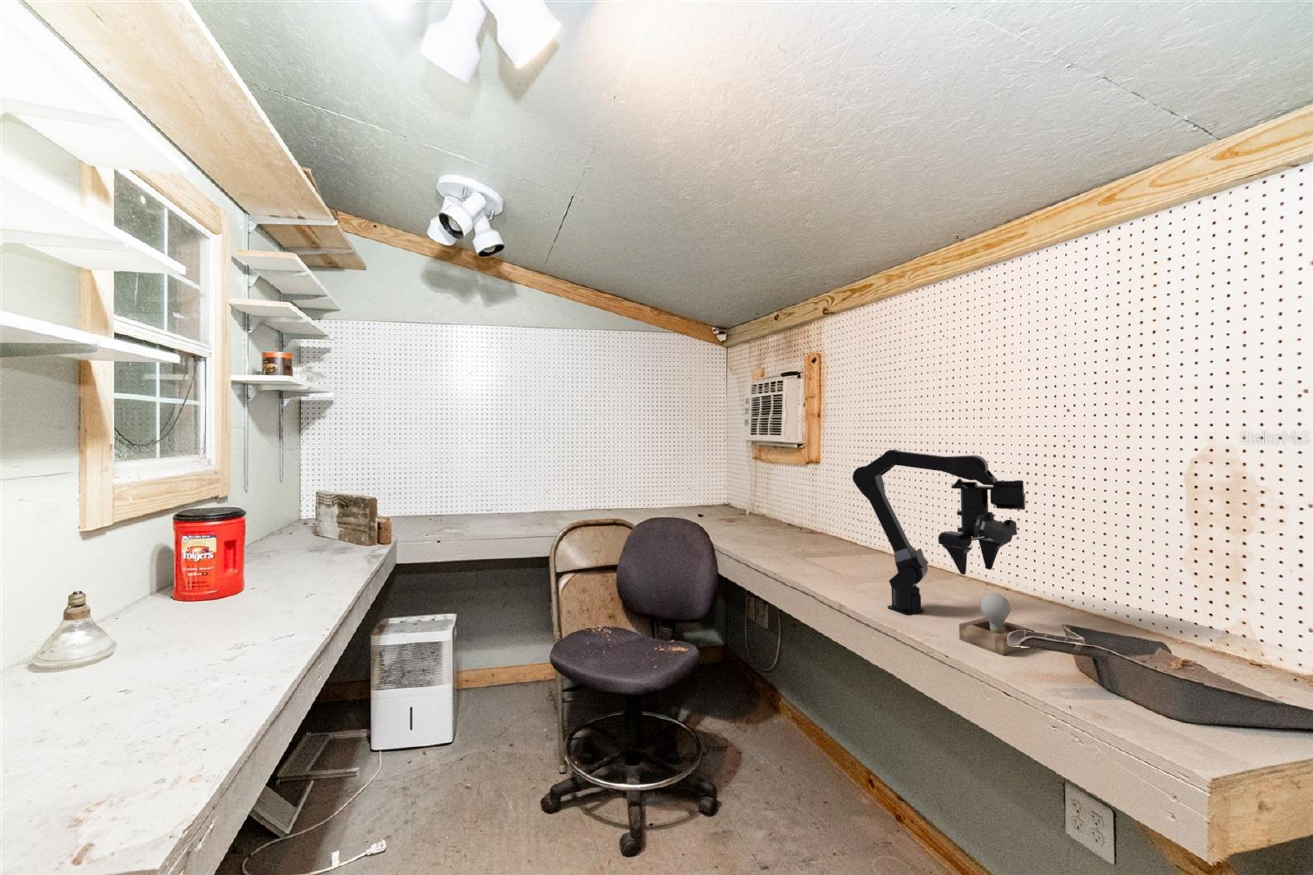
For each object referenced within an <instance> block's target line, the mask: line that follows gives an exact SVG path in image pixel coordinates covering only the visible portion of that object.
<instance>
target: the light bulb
mask: <svg viewBox="0 0 1313 875" xmlns="http://www.w3.org/2000/svg"><path fill="white" fill-rule="evenodd" d="M980 608H981V612H982V613H983V615H984V616H985V618H987V619H988V621H989V623H990V629H991V631H992V632H995V633H998V634H1002V625H1003V623H1004V621H1005V622H1006V620H1007V618H1008V617H1009V615H1010V612H1011V605H1010V603H1009V601H1008V599H1007V598H1006V597H1004V595H1003V596H1002V595H1001V594H998V593H988V594H986V595H984V596H983V597H982V598H981V601H980Z"/></svg>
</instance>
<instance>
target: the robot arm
mask: <svg viewBox="0 0 1313 875" xmlns="http://www.w3.org/2000/svg"><path fill="white" fill-rule="evenodd" d="M895 466H900V467H907V468H915V469H923V470H928V471H929V470H930V471H937V472H942V473H946V474H949V475H951V476H955V477H958V479H957V480H956V482H955V483H953V484H952V485H951V487H950V488H951V489H953V490H954V489H958V490H960V510H957V511H956V516H960V517H961V518H960V519H961V527H957V531H952V530H949V531H942V532H940V533H939V534H938V535H937V536H938V540H937V541H938V544H939V545H942V548H945V549H946V551H947V552H948V554H949V556H950V557H951V558H952V559H951V560H952V561H953V562H954V565H955V566H956V568H957V570H958V571H959V574H961V575H965V576H966V574H967V566H968V565H967V561H968V553H969V552H970V551H971V550H972V549H973V547H970V546H971V545H972V542H973V541H978V543H979V544H978V545H979V547H980V551H981V555H982V558H983V563H984V567H985V569H986V570H989V571H991V570H992V569H993V566H994V563H995V562H996V559H997V555H998V552H999V550H1000V548H1002V547H1003V546H1005V545H1007V544H1008V543H1011V542H1012V539H1013V536H1017V535H1018V531H1017V530H1018V528H1017V522H1016V521H1015V520H1013V519H1011V518H1010V519H1005V520H1004V521H1002V520H996V519H995V514H994V513H993V512H992V511H989V499H990V504H991V505H993V506H995V508H996V509H997V510H998V509H1000V510H1017V511H1018V510H1020V511H1025V510H1026V493H1025V488H1024V480H1023V479H1020V480H1019V479H1017V480H998V479H997V477H996V476H995V475H994V474H993V473H992V472H991V471H990V470H989V464H988V462H987V461H986V459H985V457H983V456H980V455H975V454H974V455H973V454H972V455H969V454H968V455H955V456H952V455H951V456H944V455H936V454H935V455H934V454H926V453H919V452H909V451H905V450H904V451H903V450H898V449H890V450H886V451H885V452H884V453H883V454H882V455H881V456H879V457H877V458H876V459H875V460H873V461H871V462H870V463H869V464H867V465H863V466H859V467H858V468H856V469H855V470H854V471H853V473H852V482H853V483H854V485H855V486H856V488H857V489H858V491H859V492H861V494H862V495H863V497H865V498H866V499H867V500H868V501H869V503H870V504H871V507H872V509H873V511H874V513H875V515H876V518H877V520H878V521H879V523H880V525H881V527H882V530H883V532H884V534H885V535H886V537H887V540H888V542H889V543H890V544H889V545H890V546H891V548H892V550H893V553H894V556H893V557H894V562H895V566H896V570H897V573H896V574H894V575H893V577H892V578H890V579H889V581H888V582H889V585H890V588H891V605H887V609H889V610H893V611H896V612H899V613H900V614H904V615H907V616H908V615H913V614H917V613H921V612H922V613H923V612H925V611H926V610H925V608H924V607H923V608H922V597H921V596H922V594H921V593H920V591H921V590H920V587H918V586H917V585H918V584H919V583H920V582H921V581H922V580H923V578H924V577H925V576H926V575H927V573H928V570H929V567H928V564H929V561H928V560H927V559H926V558H925V555H924V553H923V549H922V548H918V549H915V547H913V546H912V545H911V543H910V542H909V540H908V538H907V535H906V533H905V532H904V529H903V527H902V525H901V522H899V519H898V518H897V515H896V513H895V511H894V509H893V508H892V505H891V503H890V501H889V499H888V497H887V496H886V495H887V494H886V490H885V483H884V479H883V475H885V474H886V473H888V472H889V471H890V470H891V469H893V468H894V467H895ZM963 479H964V480H968V481H964V480H963ZM978 483H980V484H982V485H978ZM989 490H990V494H989ZM989 495H990V498H989Z"/></svg>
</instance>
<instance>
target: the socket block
mask: <svg viewBox="0 0 1313 875" xmlns="http://www.w3.org/2000/svg"><path fill="white" fill-rule="evenodd" d="M1016 630H1026V631H1031V632H1034V633H1035V630H1034V629H1031V628H1027V627H1024V626H1021V625H1018V624H1015V623H1011V622H1007V621H1006V620H1005V621H1004V623H1003V625H1002V634H998V633H995V632H992V631H991V629H990V623H989V621H988V619H987V618H986V617H983V618H978V619H974V620H970V621H966V622H961V623H958V632H959V640H960V641H962V642H965V641H966V642H965V643H968V642H969V643H968V644H970V643H971V644H970V645H973V646H976V647H978V646H979V647H978V648H981V647H982V649H984V650H987V651H989V650H990V652H992V653H995V654H998V655H1000V656H1004V657H1005V656H1008V655H1012V654H1015V653H1019V652H1022V651H1026V650H1028V649H1029V650H1030V648H1021V647H1012V646H1009V645H1008V644H1007V635H1008V634H1009V633H1010V632H1013V631H1016Z"/></svg>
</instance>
